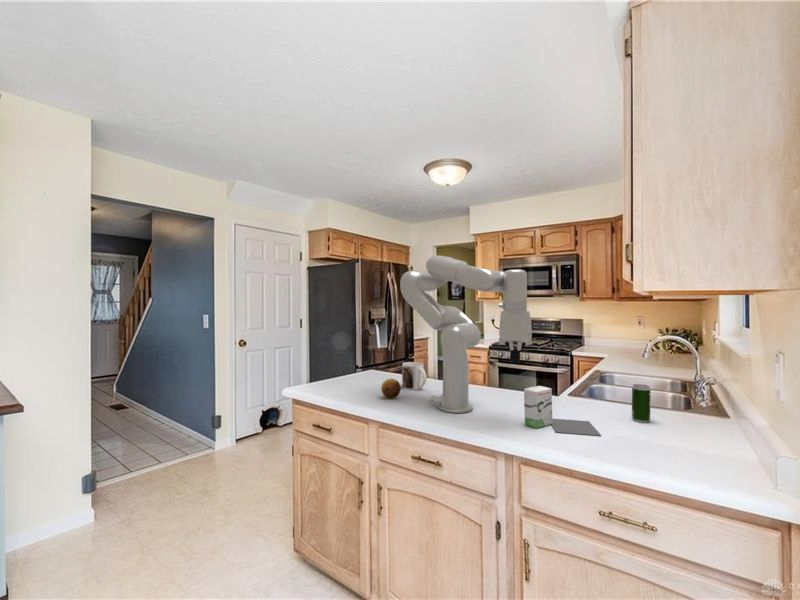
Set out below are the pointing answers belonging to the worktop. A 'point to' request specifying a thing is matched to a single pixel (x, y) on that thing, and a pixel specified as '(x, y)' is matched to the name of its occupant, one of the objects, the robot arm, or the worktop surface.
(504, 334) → the robot arm
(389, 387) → the fruit
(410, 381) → the mug
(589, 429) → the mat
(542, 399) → the ink box
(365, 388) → the worktop surface
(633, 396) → the beer can
